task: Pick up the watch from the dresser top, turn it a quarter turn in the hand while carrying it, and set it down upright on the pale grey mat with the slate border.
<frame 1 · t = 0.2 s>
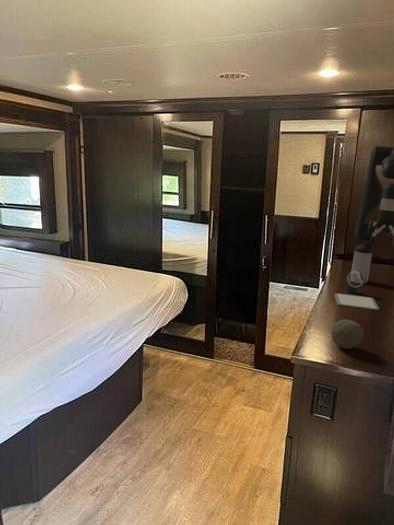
hand: (382, 245, 177), 29 cm above the table, tool pointing down, fingers open, 8 cm apart
decorative stone: (345, 348, 137), on the table
mat: (355, 302, 187), on the table
watch: (353, 293, 202), on the table
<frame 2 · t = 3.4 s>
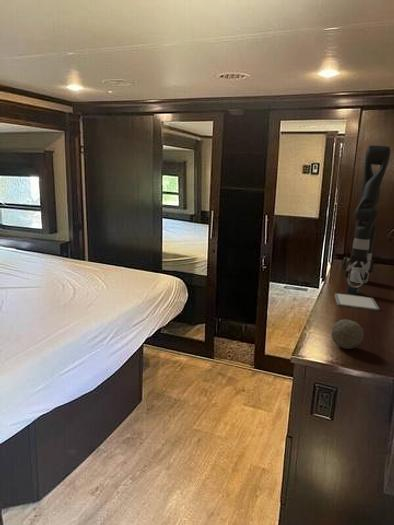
hand: (355, 278, 200), 7 cm above the table, tool pointing down, fingers closed on watch, 8 cm apart
watch: (353, 293, 202), on the table, touching gripper
everything else where it was.
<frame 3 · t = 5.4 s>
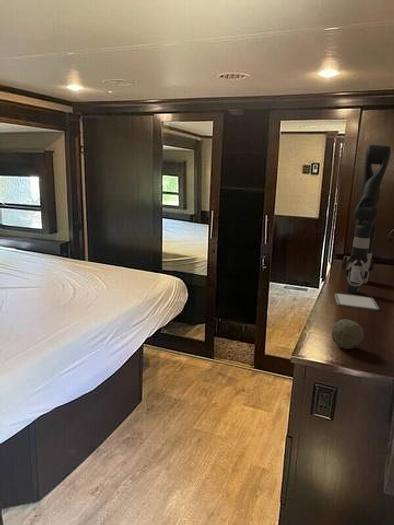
hand: (355, 277, 201), 8 cm above the table, tool pointing down, fingers closed on watch, 8 cm apart
watch: (353, 291, 203), on the table, touching gripper
everything else where it was.
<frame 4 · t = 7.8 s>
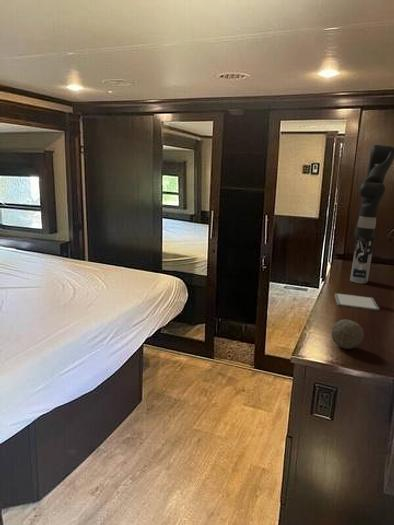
hand: (360, 260, 186), 19 cm above the table, tool pointing down, fingers closed on watch, 8 cm apart
watch: (359, 276, 187), point 12 cm above the table, touching gripper
everything else where it was.
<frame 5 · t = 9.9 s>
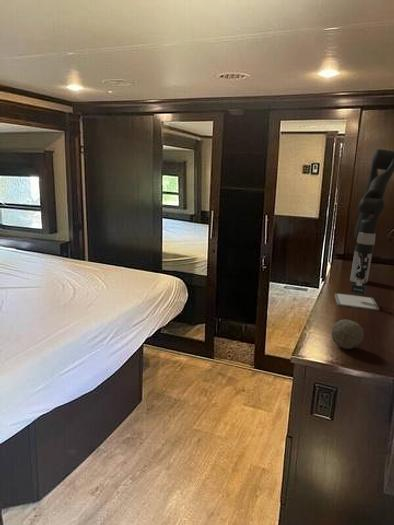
hand: (360, 276, 185), 13 cm above the table, tool pointing down, fingers closed on watch, 8 cm apart
watch: (358, 292, 186), point 5 cm above the table, touching gripper
everything else where it was.
when the fingers open (8 cm above the table, at t = 11.9 s): watch stays where it is, resting on mat.
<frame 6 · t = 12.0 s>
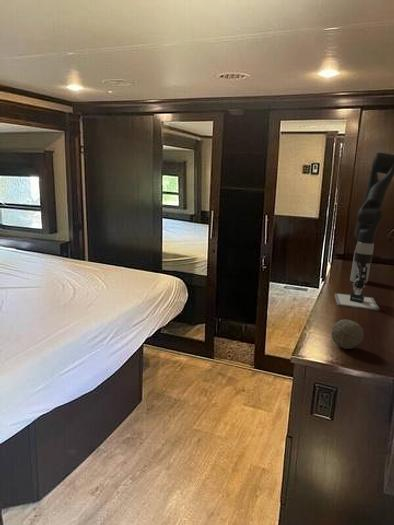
hand: (358, 285, 186), 8 cm above the table, tool pointing down, fingers open, 8 cm apart
watch: (356, 301, 187), resting on mat, touching gripper
everything else where it was.
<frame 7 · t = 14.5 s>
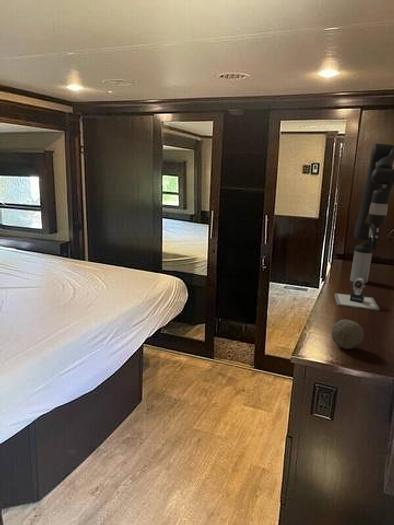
hand: (371, 247, 186), 26 cm above the table, tool pointing down, fingers open, 8 cm apart
watch: (356, 301, 187), resting on mat
everything else where it was.
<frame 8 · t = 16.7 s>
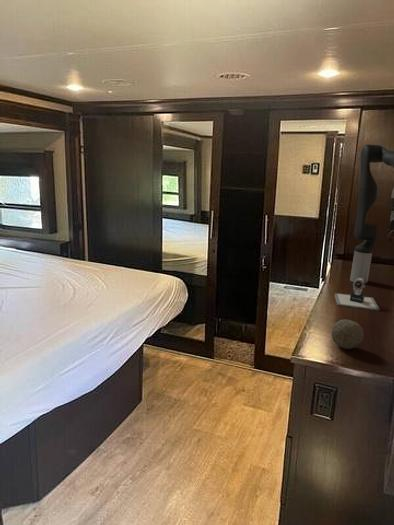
hand: (393, 231, 193), 33 cm above the table, tool pointing down, fingers open, 8 cm apart
nothing on the table moved.
at the end: watch inside the target area on the mat (0.4 cm from its centre), point 0.4 cm above the mat's base; watch tilted 0°; the gripper is holding nothing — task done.
